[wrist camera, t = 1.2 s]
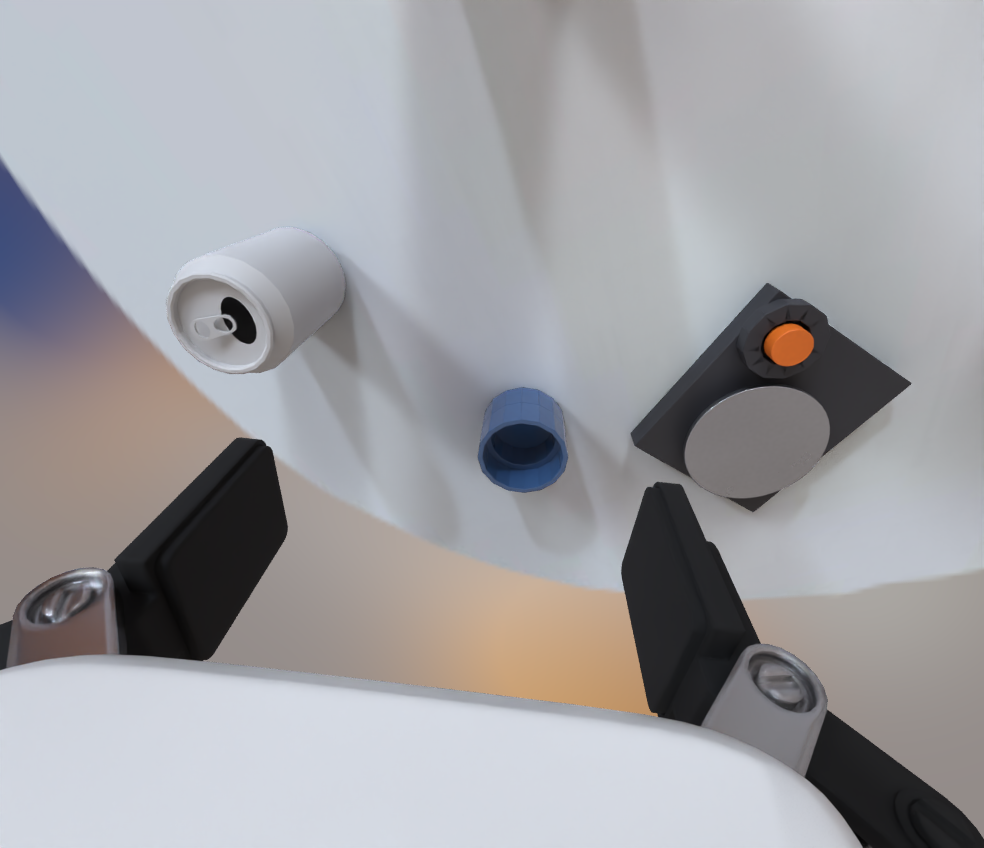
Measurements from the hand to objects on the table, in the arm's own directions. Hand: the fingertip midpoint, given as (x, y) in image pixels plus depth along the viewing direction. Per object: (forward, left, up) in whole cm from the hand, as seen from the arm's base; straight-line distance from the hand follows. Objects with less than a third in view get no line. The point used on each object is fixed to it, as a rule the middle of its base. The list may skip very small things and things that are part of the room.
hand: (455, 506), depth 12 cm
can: (+9, -13, -28) cm, 33 cm away
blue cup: (+11, +9, -28) cm, 32 cm away
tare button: (-6, +20, -25) cm, 33 cm away
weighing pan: (+1, +25, -25) cm, 35 cm away
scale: (-1, +25, -28) cm, 37 cm away
